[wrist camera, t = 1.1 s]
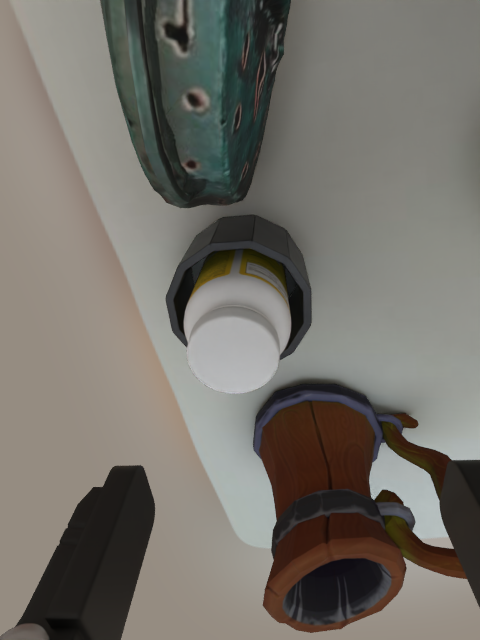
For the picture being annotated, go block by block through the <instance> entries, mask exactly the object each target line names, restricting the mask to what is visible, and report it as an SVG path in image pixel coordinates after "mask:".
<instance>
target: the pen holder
mask: <svg viewBox="0 0 480 640" xmlns="http://www.w3.org/2000/svg"><path fill="white" fill-rule="evenodd" d="M237 249H252V250H255V251H257V252H259V253H261V254H263V255H265V256H268V257H270V258H272V259H274V260H276V261H278V262H281V263H283V264H284V265H285V267H286V268H287V270H288V271H289V273H290V274H291V275H292V277H293V278H294V280H295V281H296V283H297V286H296V288H295V289H294V291H293V293H292V294H291V296H290V298H289V308H290V315H291V333H290V337H289V340H288V343H287V345H286V347H285V349H284V351H283V352H282V353H281V355H280V360H281V359H283V358H285V357H286V356H288V355H290V354H292V353H293V352H294V351H295V349H296V348H297V346H298V345H299V343H300V342H301V340H302V338H303V337H304V335H305V334H306V332H307V331H308V329H309V328H310V326H311V323H312V311H311V287H310V283H309V279H308V275H307V270H306V266H305V262H304V258H303V255H302V253H301V252H300V250H299V249H298V247H297V246H296V244H295V242H294V241H293V239H292V238H291V236H290V235H289V233H288V232H287V230H285V229H284V228H282V227H280V226H278V225H276V224H274V223H272V222H270V221H268V220H265V219H263V218H261V217H259V216H257V215H256V216H255V215H245V216H233V217H223V218H220V219H219V220H217V221H216V222H215V223H213V224H212V225H210V226H209V227H208V228H206V229H205V230H204V231H202V232H201V233H199V234H198V235H197V236H196V237H195V238H194V240H193V242H192V243H191V245H190V247H189V248H188V250H187V252H186V253H185V255H184V257H183V259H182V260H181V262H180V264H179V265H178V267H177V270H176V272H175V275H174V277H173V280H172V282H171V285H170V287H169V290H168V293H167V295H166V304H167V309H168V313H169V318H170V323H171V327H172V331H173V333H174V334H175V335H176V336H177V337H178V338H179V340H180V341H181V342H182V343H183V344H184V345H185V346H186V347H187V345H188V342H187V339H186V336H185V332H184V315H185V310H186V306H187V304H188V301H189V299H190V296H191V294H192V291H193V289H194V287H195V286H194V280H193V274H192V268H191V267H192V266H193V265H194V264H196V263H197V262H199V261H200V260H202V259H203V258H205V257H206V256H207V255H209V254H210V253H212V252H213V251H223V250H237Z"/></svg>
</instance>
